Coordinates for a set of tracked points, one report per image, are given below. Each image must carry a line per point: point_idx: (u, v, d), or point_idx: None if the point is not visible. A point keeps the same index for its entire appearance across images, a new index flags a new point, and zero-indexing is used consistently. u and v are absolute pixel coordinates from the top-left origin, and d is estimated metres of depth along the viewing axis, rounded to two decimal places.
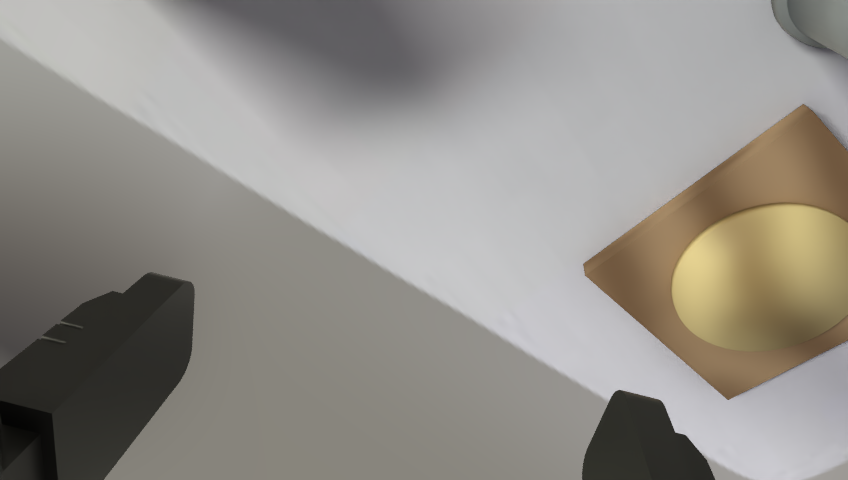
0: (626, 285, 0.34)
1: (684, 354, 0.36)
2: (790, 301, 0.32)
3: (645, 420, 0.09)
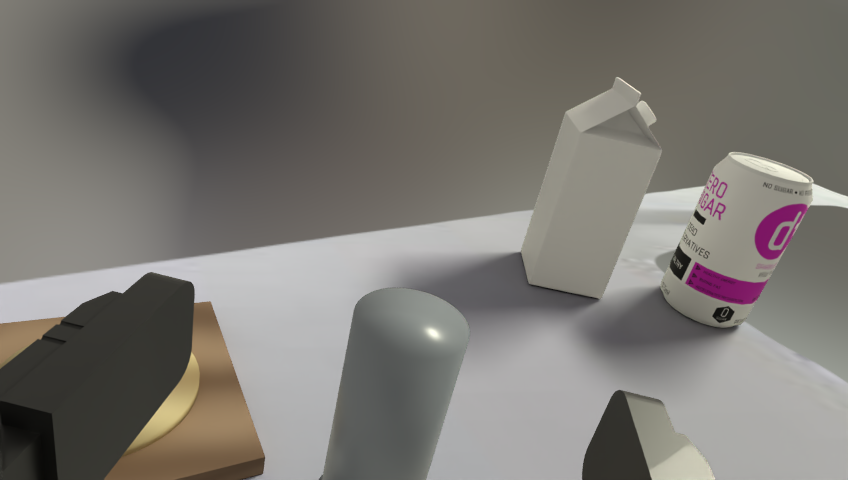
0: None
1: (56, 321, 0.34)
2: None
3: (645, 420, 0.09)
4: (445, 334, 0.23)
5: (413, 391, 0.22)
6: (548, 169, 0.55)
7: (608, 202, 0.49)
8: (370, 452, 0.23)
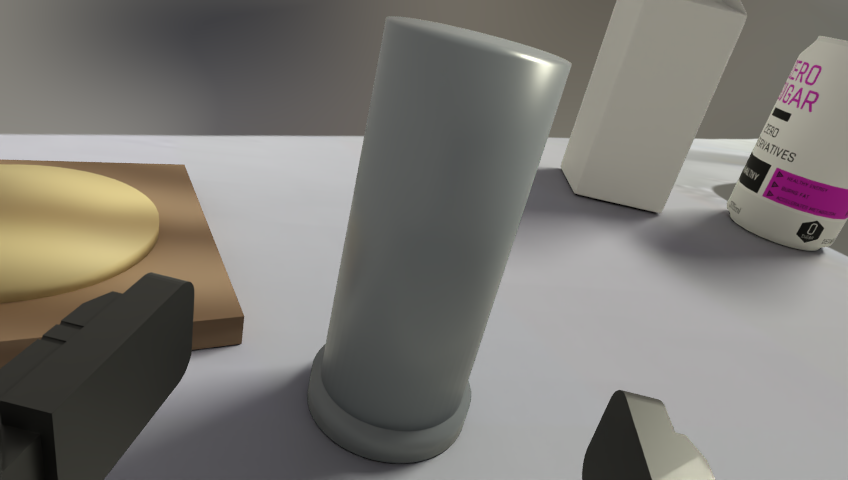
0: (140, 172, 0.28)
1: None
2: None
3: (645, 420, 0.09)
4: (534, 55, 0.14)
5: (487, 125, 0.13)
6: (597, 61, 0.46)
7: (677, 86, 0.40)
8: (408, 252, 0.15)
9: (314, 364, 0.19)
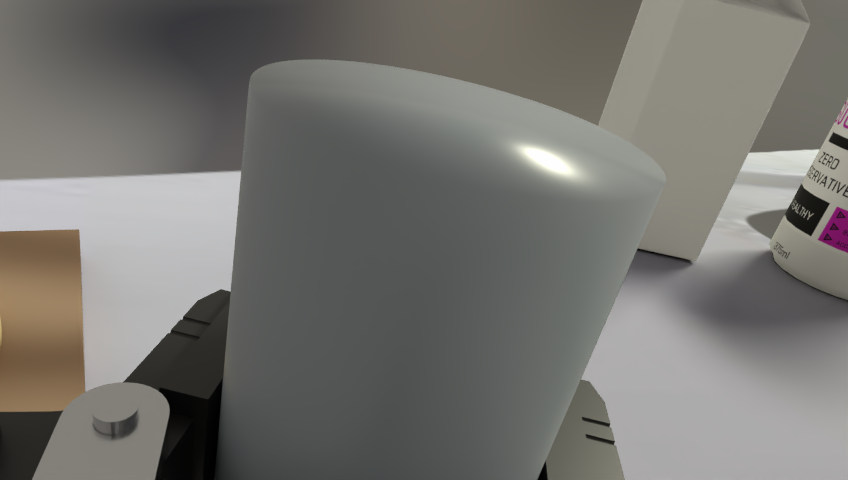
0: (8, 247, 0.21)
1: None
2: None
3: None
4: (583, 152, 0.06)
5: (479, 348, 0.05)
6: (618, 76, 0.38)
7: (719, 110, 0.33)
8: None
9: None
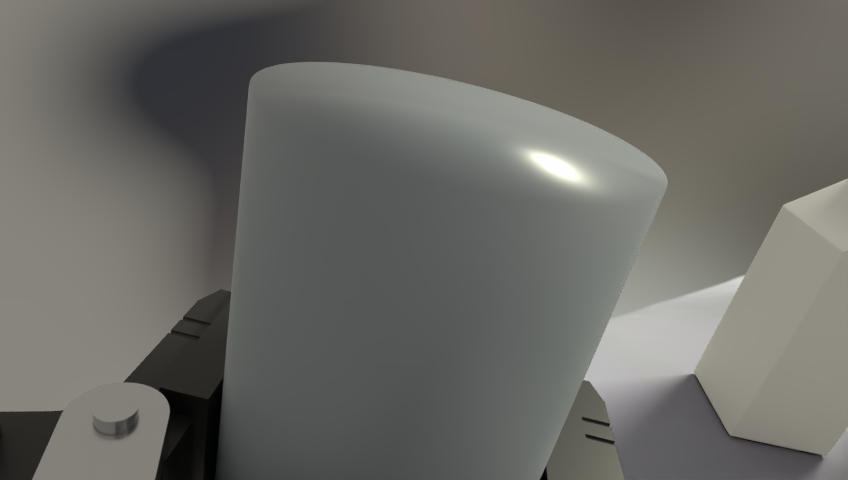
0: None
1: None
2: None
3: None
4: (584, 155, 0.06)
5: (481, 351, 0.05)
6: (750, 278, 0.41)
7: None
8: None
9: None
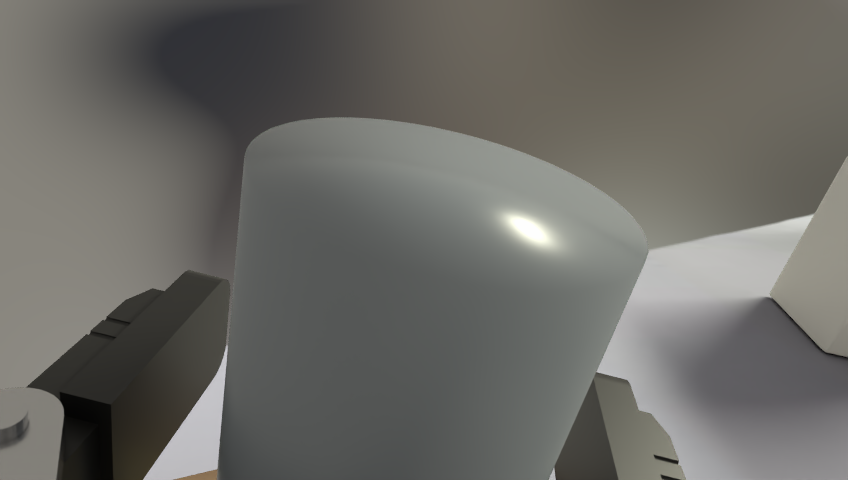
0: None
1: None
2: None
3: (610, 398, 0.10)
4: (568, 221, 0.07)
5: (466, 423, 0.06)
6: (841, 179, 0.37)
7: None
8: None
9: None
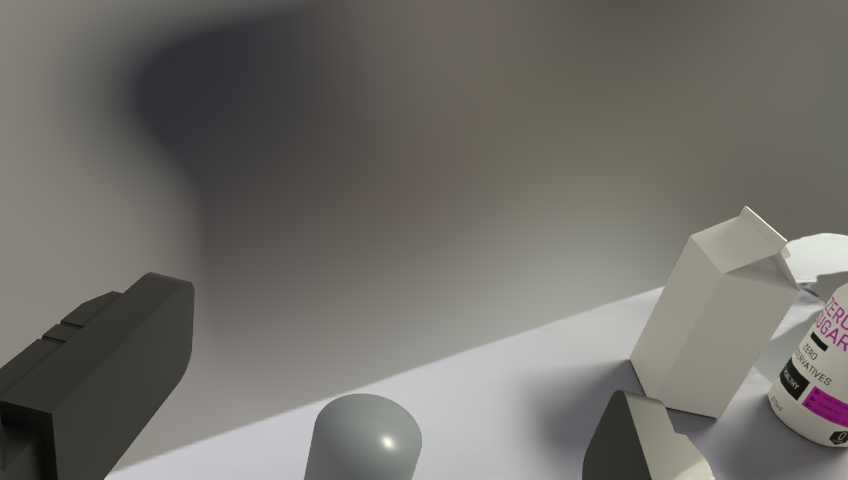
0: None
1: None
2: None
3: (645, 420, 0.09)
4: (399, 447, 0.25)
5: None
6: (668, 288, 0.56)
7: (740, 335, 0.50)
8: None
9: None
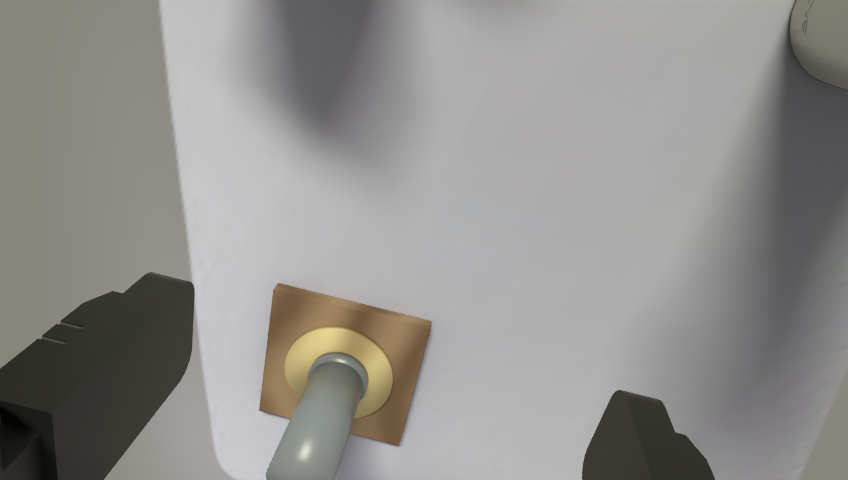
0: (284, 314, 0.50)
1: (268, 370, 0.53)
2: None
3: (645, 420, 0.09)
4: (315, 476, 0.41)
5: None
6: None
7: None
8: None
9: None
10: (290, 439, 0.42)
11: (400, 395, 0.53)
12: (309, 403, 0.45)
